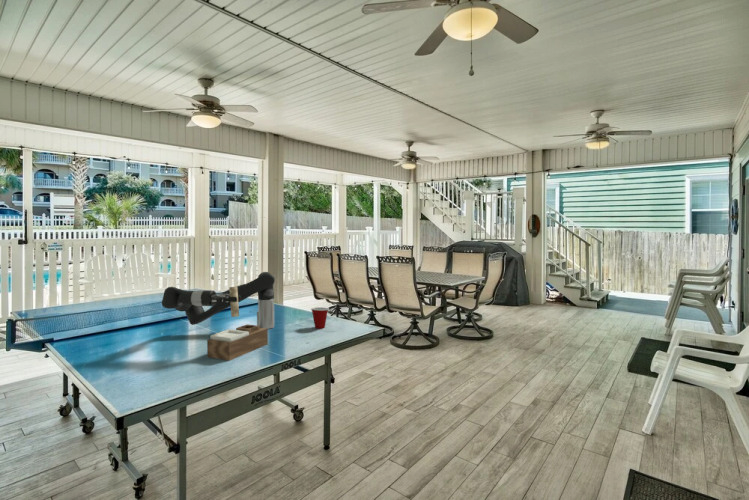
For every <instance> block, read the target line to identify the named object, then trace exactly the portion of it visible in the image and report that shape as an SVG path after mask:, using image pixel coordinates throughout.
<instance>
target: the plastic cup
mask: <svg viewBox="0 0 749 500" xmlns="http://www.w3.org/2000/svg"><path fill="white" fill-rule="evenodd" d="M310 310H311V313H312V317H313V324H314V328H315V329H317V330H321V329H325V328H326V322H327V317H328V312H329V310H330V308H328V307H321V306H320V307H318V306H316V307H315V306H314V307H310Z"/></svg>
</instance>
